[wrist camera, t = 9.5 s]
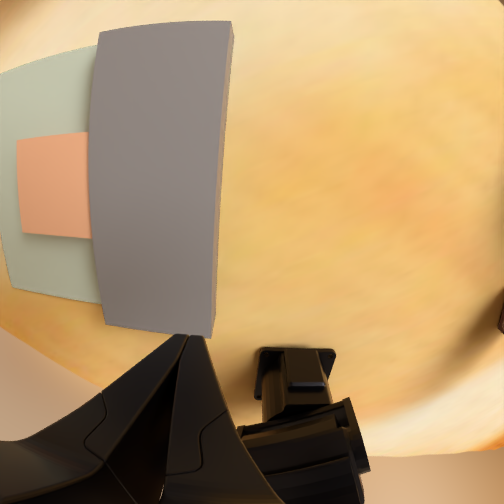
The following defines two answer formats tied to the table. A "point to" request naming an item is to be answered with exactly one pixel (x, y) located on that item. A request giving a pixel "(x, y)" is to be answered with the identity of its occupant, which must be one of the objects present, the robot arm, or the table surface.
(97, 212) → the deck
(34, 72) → the mat
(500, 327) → the box
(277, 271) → the table surface
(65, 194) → the coaster
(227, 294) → the table surface
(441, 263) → the table surface
